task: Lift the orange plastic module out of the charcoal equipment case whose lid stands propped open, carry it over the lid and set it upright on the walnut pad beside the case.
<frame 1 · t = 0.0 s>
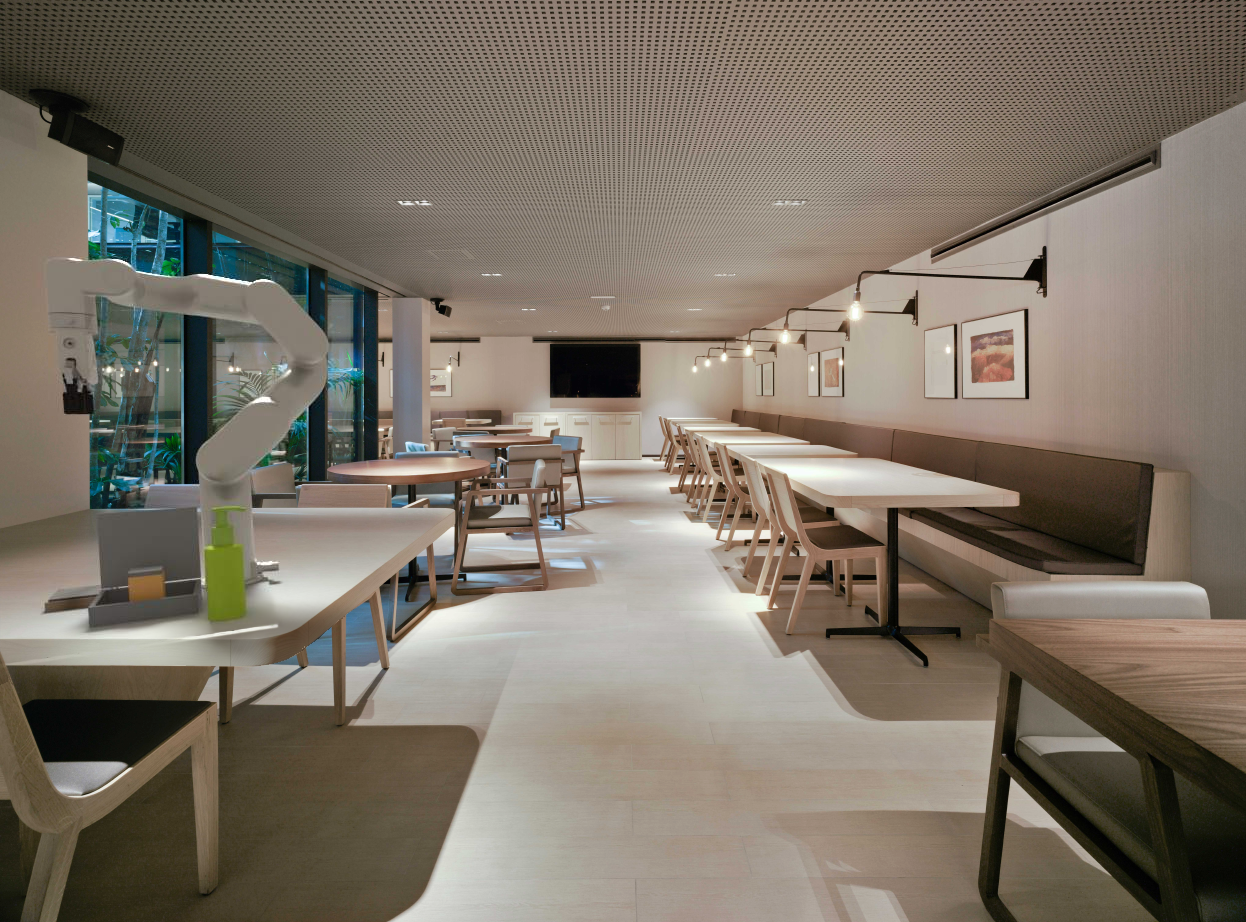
hand: (79, 414, 138), 37 cm above the table, tool pointing down, fingers open, 9 cm apart
pad: (83, 604, 138), on the table
module: (149, 612, 129), point 1 cm above the table, touching case
lid: (150, 546, 137), point 11 cm above the table, hinge at 95.0°
soap dispenser: (231, 619, 126), on the table
case: (150, 613, 130), on the table
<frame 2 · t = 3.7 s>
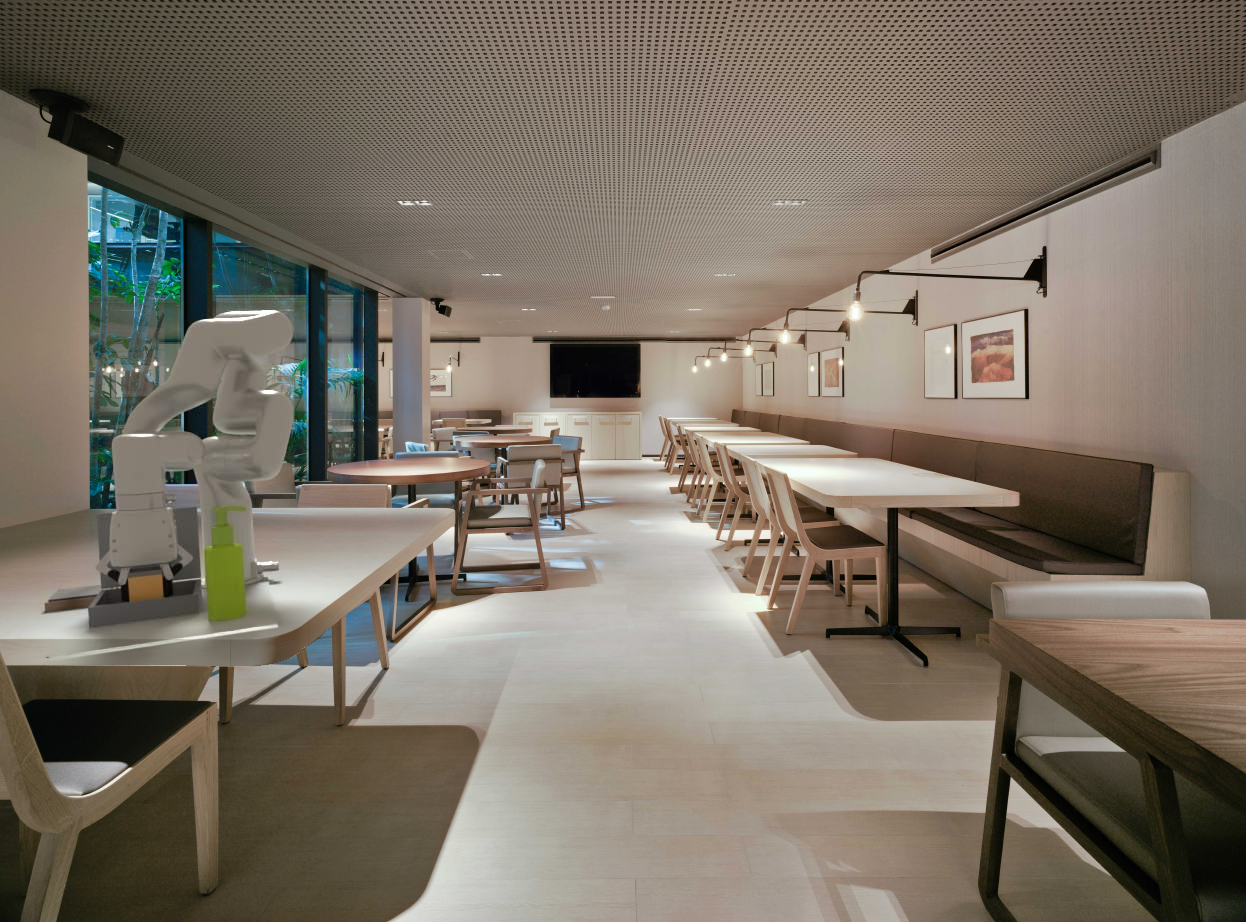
hand: (148, 601, 129), 3 cm above the table, tool pointing down, fingers closed on module, 5 cm apart
module: (149, 612, 129), point 1 cm above the table, touching case, gripper
everything else where it was.
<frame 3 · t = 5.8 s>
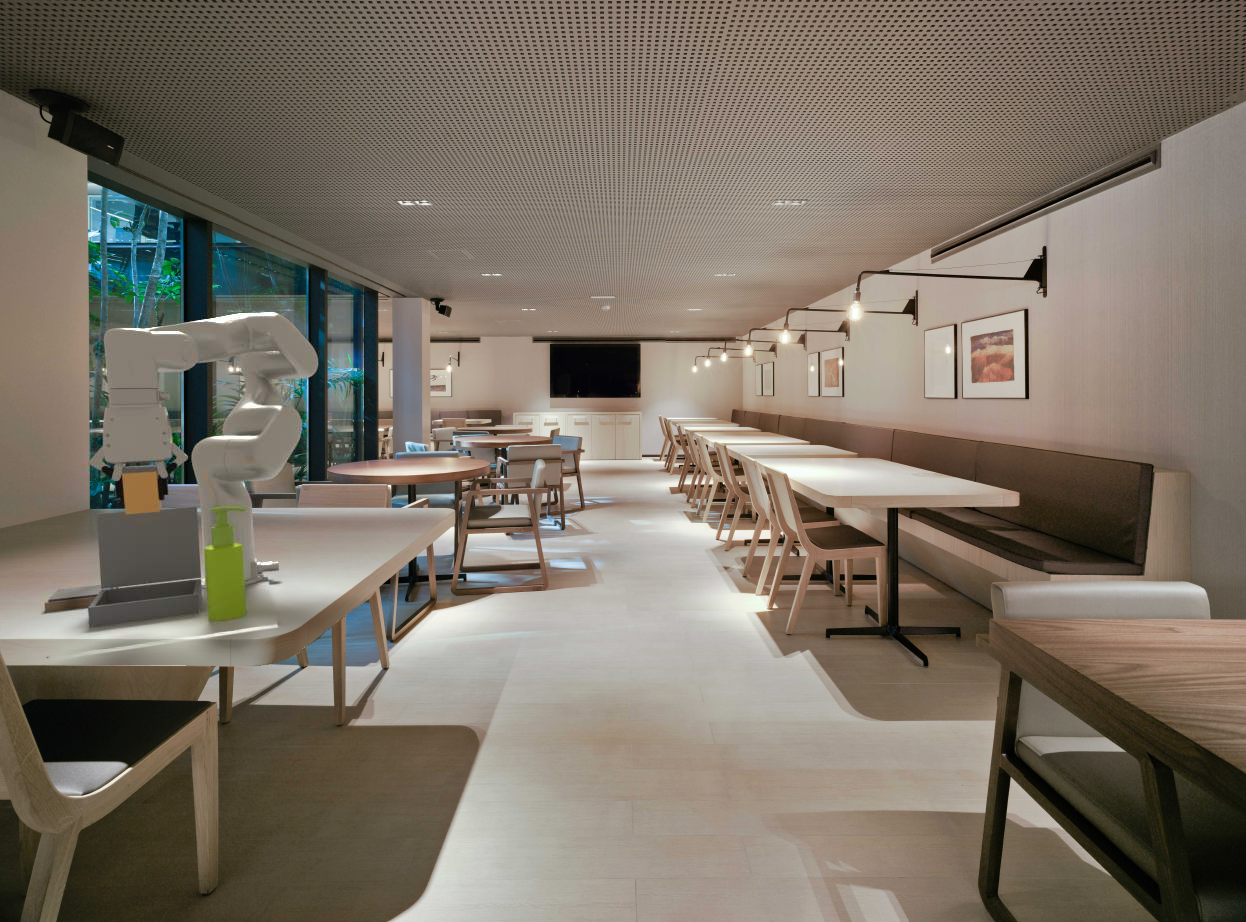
hand: (143, 499, 128), 21 cm above the table, tool pointing down, fingers closed on module, 5 cm apart
module: (144, 511, 128), point 19 cm above the table, touching gripper
everything else where it was.
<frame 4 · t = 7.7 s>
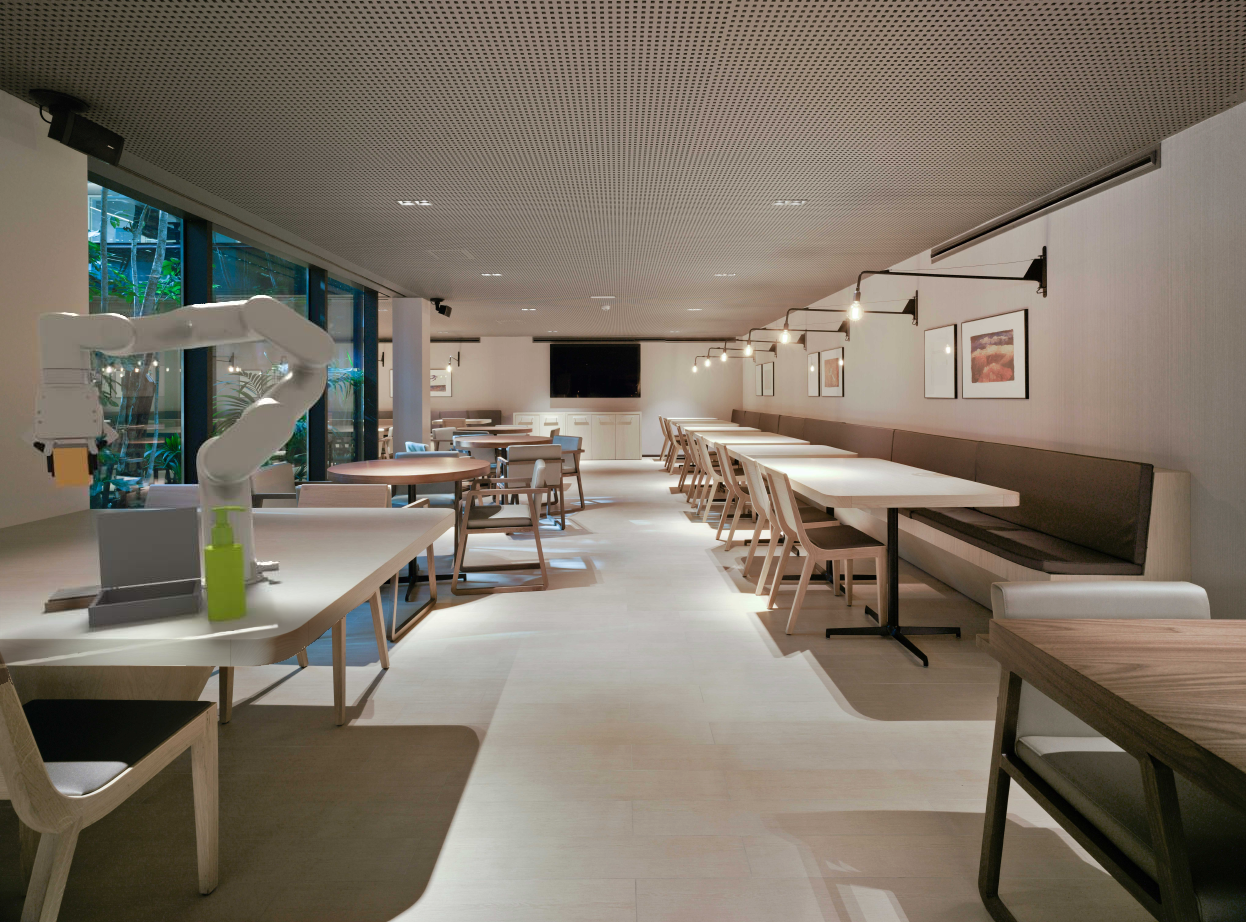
hand: (74, 474, 136), 25 cm above the table, tool pointing down, fingers closed on module, 5 cm apart
module: (75, 485, 136), point 23 cm above the table, touching gripper
everything else where it was.
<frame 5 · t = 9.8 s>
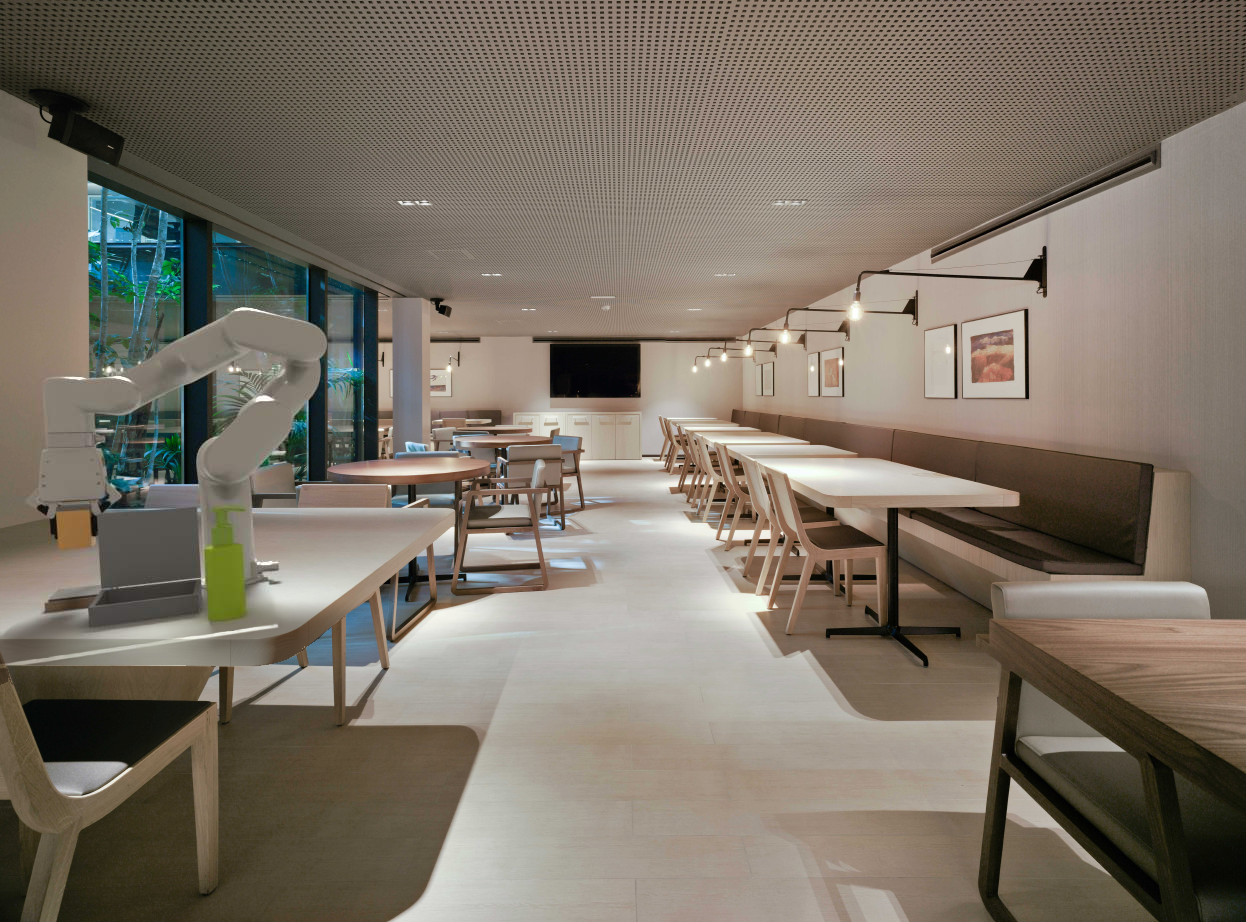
hand: (77, 535, 137), 13 cm above the table, tool pointing down, fingers closed on module, 5 cm apart
module: (77, 546, 137), point 11 cm above the table, touching gripper
everything else where it was.
when the fingers open (6 cm above the table, at t = 11.6 s): module drops 2 cm, resting on pad.
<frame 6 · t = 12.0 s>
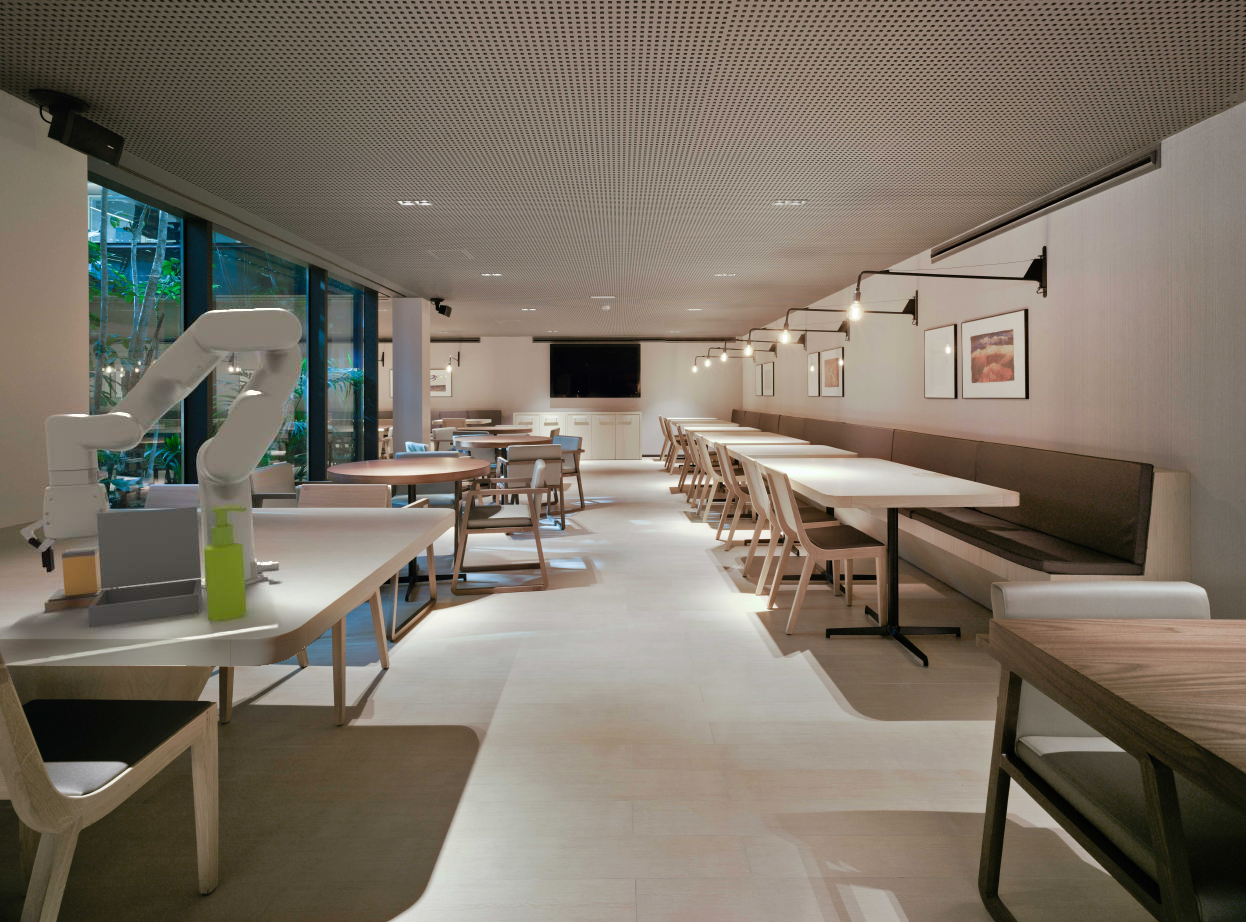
hand: (81, 567, 137), 7 cm above the table, tool pointing down, fingers open, 9 cm apart
module: (83, 591, 137), point 3 cm above the table, touching pad
everything else where it was.
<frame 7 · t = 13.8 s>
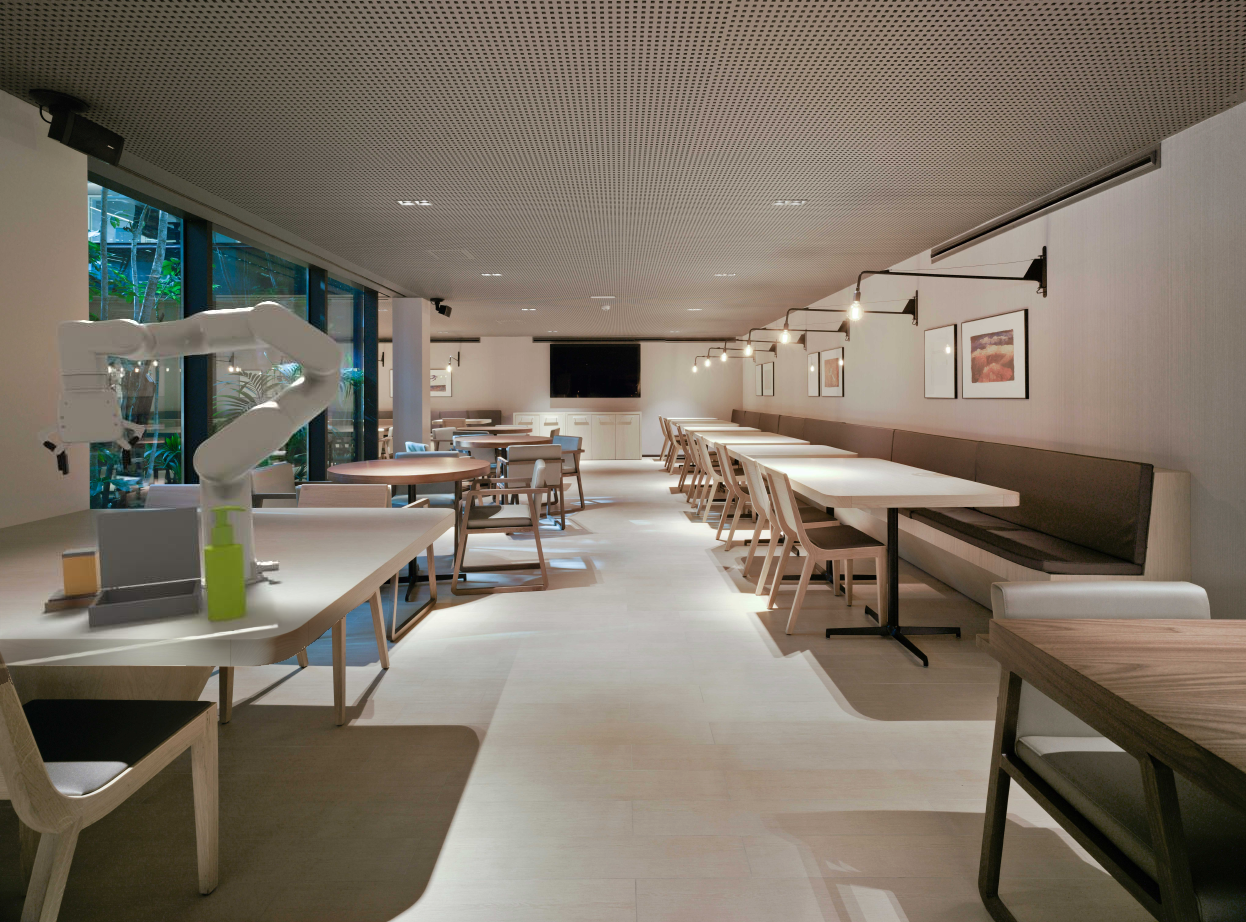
hand: (96, 471, 141), 25 cm above the table, tool pointing down, fingers open, 9 cm apart
nothing on the table moved.
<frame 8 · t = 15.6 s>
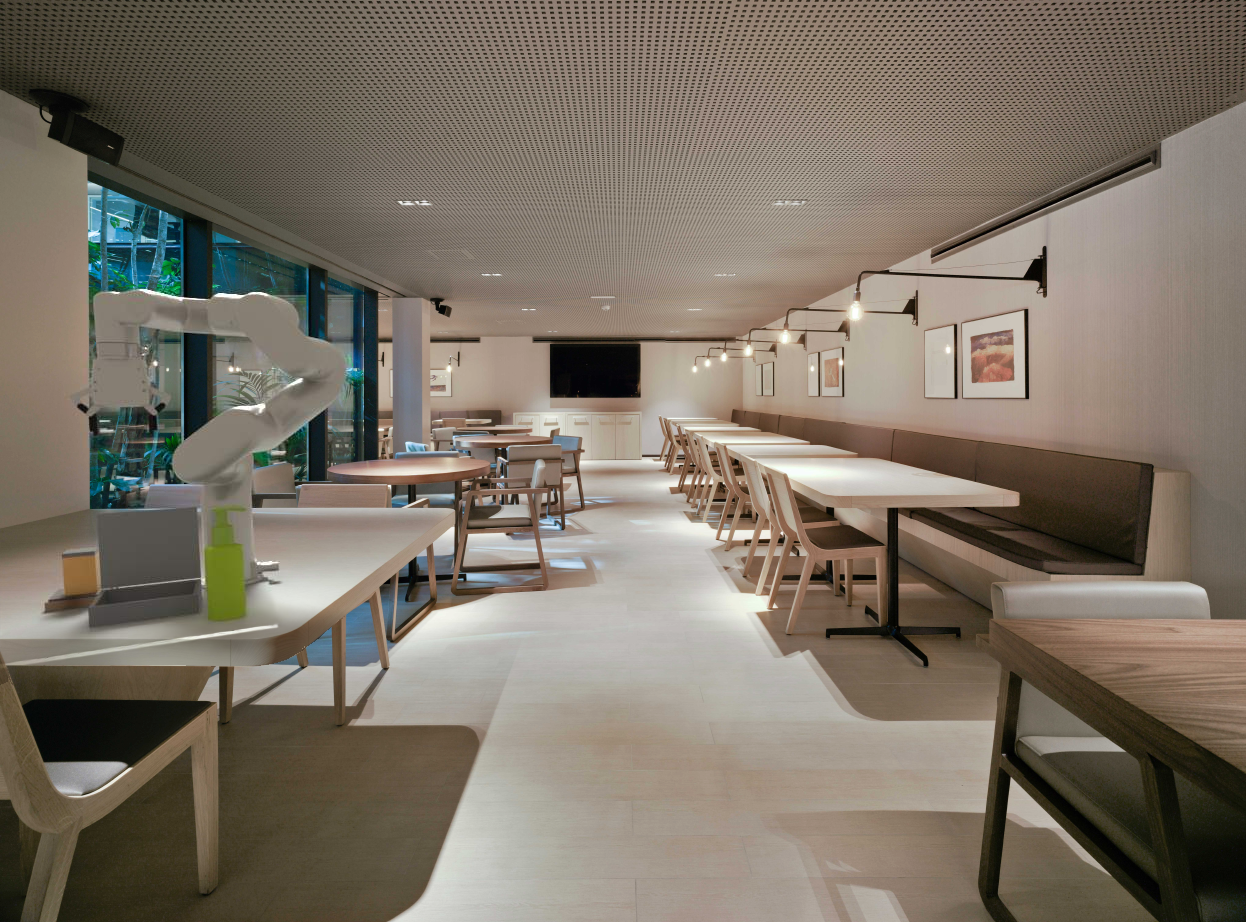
hand: (124, 434, 150), 32 cm above the table, tool pointing down, fingers open, 9 cm apart
nothing on the table moved.
at the end: module 0.1 cm off-centre on the pad, point 2.6 cm above the pad's base; module tilted 0°; the gripper is holding nothing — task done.
